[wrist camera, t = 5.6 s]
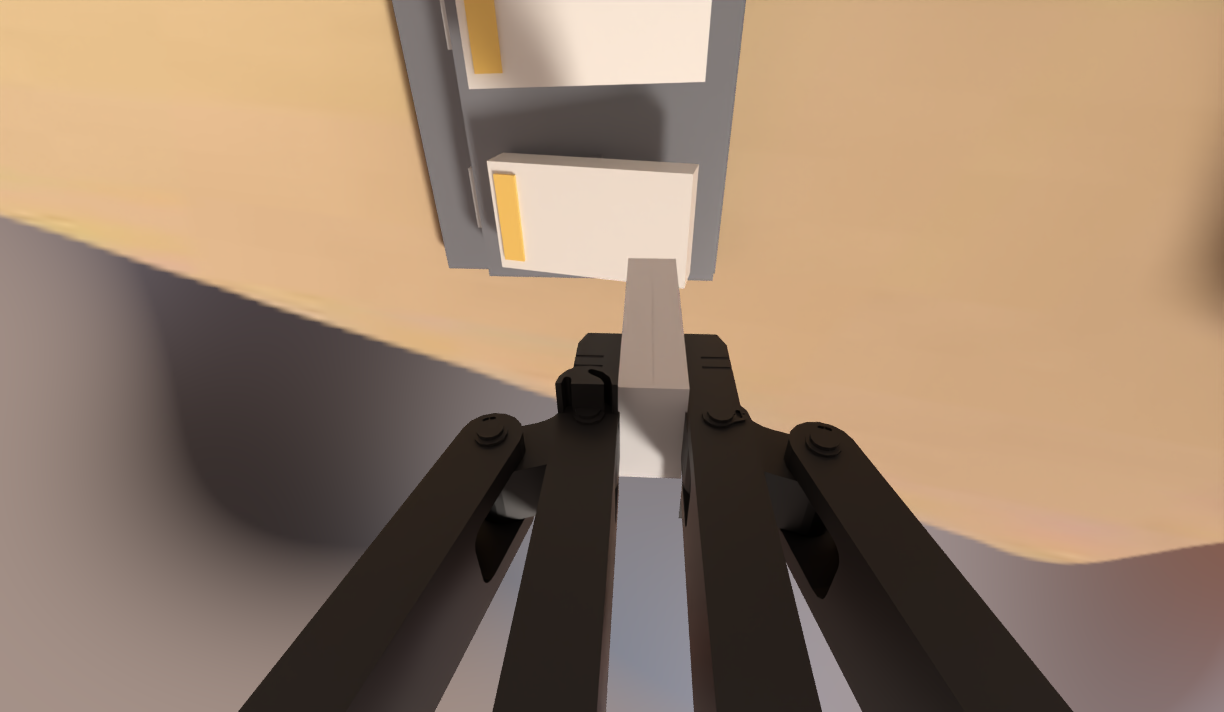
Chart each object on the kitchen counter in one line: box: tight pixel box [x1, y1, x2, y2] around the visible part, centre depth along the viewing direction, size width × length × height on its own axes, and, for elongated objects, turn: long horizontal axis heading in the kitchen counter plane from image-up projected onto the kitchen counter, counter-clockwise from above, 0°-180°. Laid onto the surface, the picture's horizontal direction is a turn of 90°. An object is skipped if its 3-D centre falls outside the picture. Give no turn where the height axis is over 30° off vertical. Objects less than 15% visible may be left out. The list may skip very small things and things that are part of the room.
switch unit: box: [392, 0, 746, 281], centre depth 22 cm, size 16×26×6 cm, turn 1°
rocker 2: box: [487, 153, 699, 288], centre depth 23 cm, size 9×5×2 cm, turn 91°
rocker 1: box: [455, 0, 712, 89], centre depth 18 cm, size 9×5×2 cm, turn 91°
